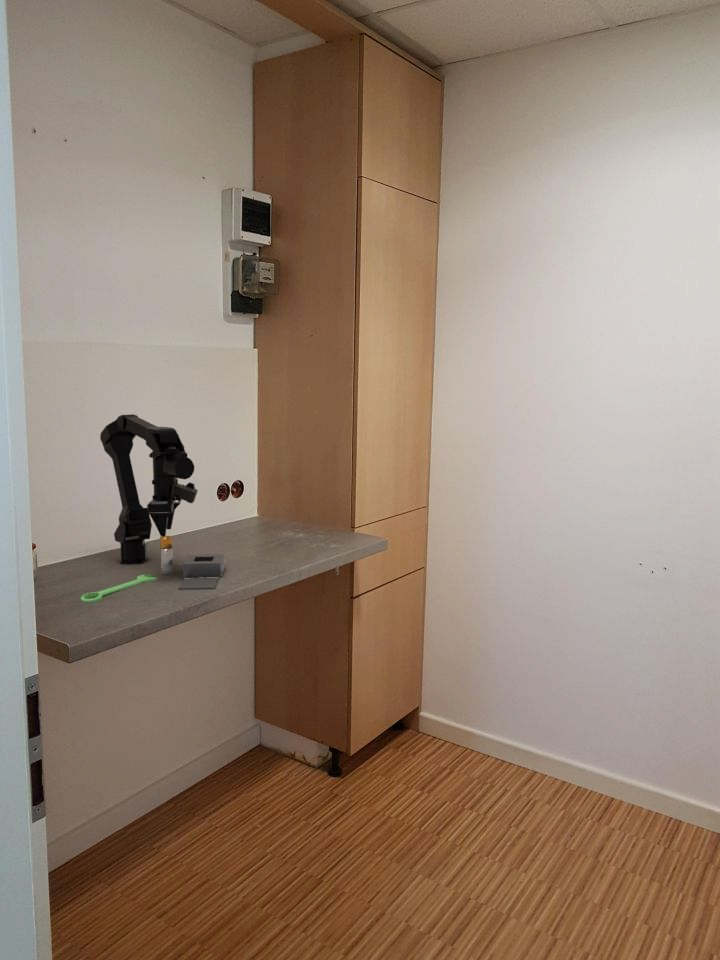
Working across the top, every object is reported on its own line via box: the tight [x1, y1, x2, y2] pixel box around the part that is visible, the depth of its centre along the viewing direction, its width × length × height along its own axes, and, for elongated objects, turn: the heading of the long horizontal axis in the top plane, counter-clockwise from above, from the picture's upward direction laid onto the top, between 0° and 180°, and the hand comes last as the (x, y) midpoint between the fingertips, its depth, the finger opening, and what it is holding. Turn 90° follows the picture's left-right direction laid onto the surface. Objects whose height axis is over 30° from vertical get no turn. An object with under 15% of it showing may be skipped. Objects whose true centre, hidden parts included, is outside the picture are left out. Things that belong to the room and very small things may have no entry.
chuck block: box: [181, 553, 226, 579], centre depth 215 cm, size 10×10×4 cm
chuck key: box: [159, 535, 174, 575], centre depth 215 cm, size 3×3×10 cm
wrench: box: [80, 573, 158, 603], centre depth 201 cm, size 25×2×5 cm
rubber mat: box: [178, 578, 219, 590], centre depth 204 cm, size 9×9×1 cm
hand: (166, 532), depth 214 cm, fingers open, 9 cm apart
